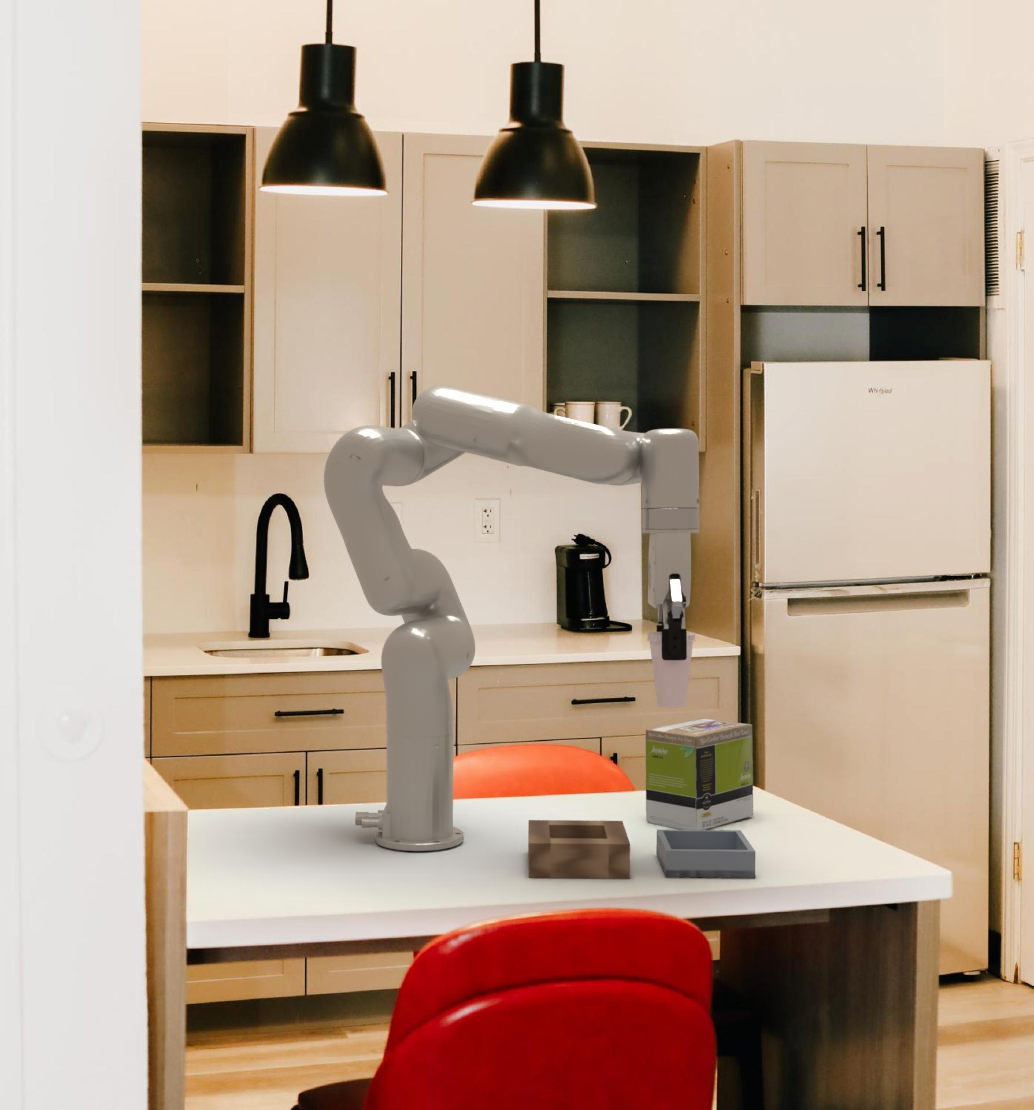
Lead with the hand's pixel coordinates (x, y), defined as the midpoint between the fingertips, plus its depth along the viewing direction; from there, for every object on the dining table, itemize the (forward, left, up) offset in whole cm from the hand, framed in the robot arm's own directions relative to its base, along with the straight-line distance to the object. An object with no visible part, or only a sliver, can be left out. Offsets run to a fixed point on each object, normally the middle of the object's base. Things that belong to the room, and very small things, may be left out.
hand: (671, 656), depth 179 cm
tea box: (+8, +27, -29) cm, 40 cm away
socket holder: (-12, 0, -28) cm, 31 cm away
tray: (+5, 0, -28) cm, 29 cm away
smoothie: (0, 0, -7) cm, 7 cm away
